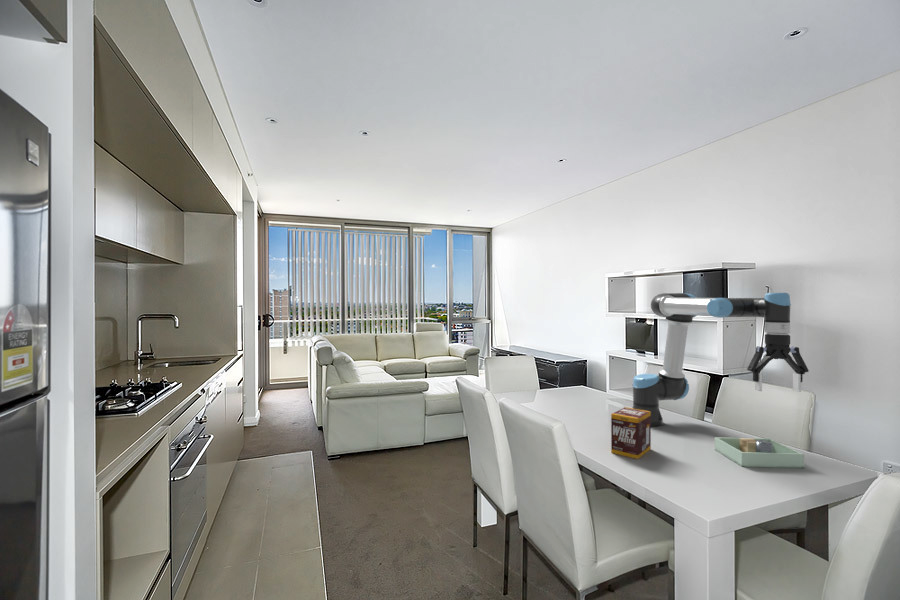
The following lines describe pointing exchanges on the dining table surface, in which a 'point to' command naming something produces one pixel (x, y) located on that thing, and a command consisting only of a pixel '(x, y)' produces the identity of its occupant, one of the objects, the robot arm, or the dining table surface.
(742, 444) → the oak cube
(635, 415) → the supplement box
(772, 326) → the robot arm
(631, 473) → the dining table surface
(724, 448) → the tote
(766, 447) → the grey tin
